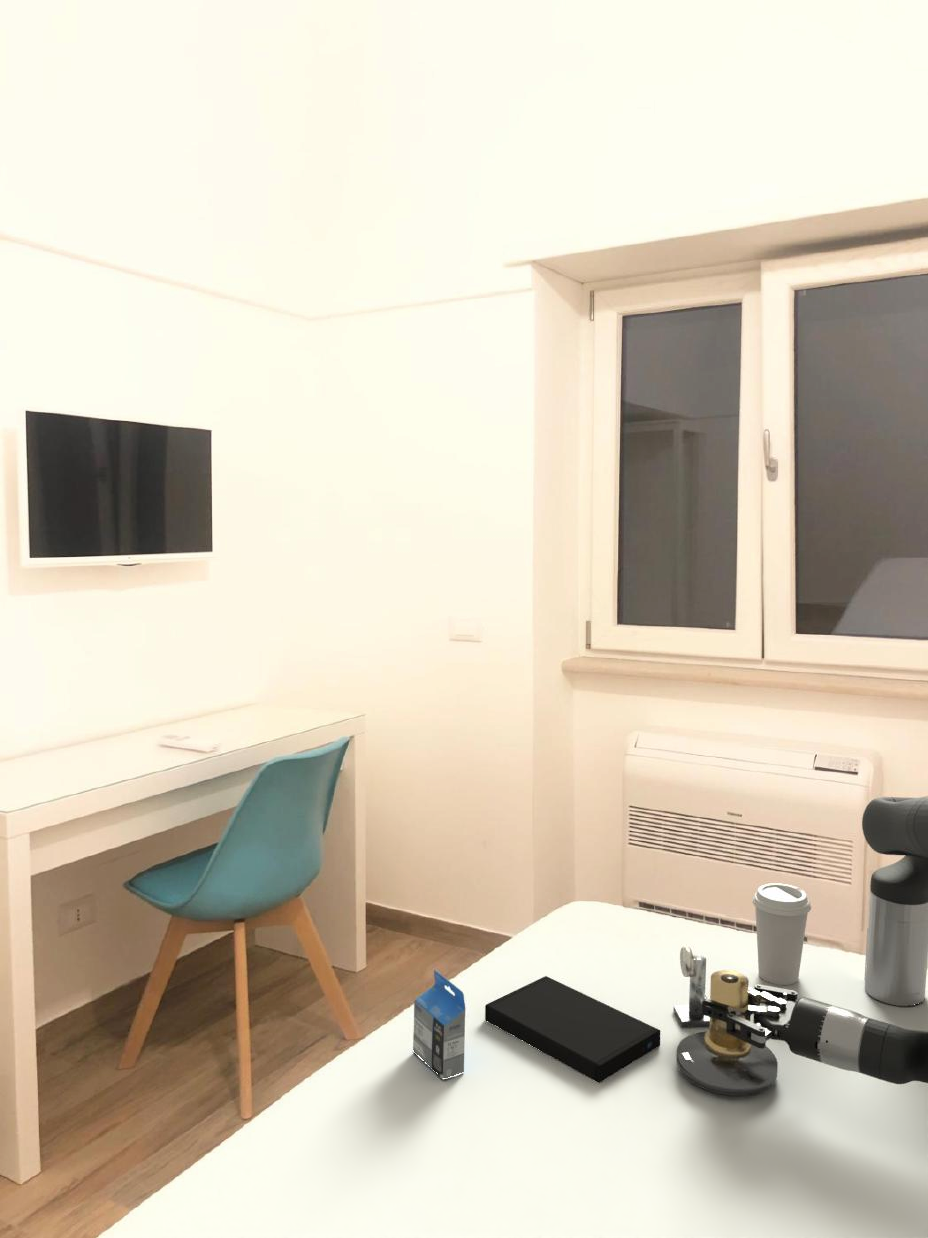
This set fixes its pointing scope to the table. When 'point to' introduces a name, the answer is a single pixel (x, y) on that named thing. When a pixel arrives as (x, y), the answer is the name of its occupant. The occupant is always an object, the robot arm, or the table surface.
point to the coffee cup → (780, 931)
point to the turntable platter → (726, 1068)
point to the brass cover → (717, 1041)
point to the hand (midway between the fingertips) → (711, 998)
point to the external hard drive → (573, 1028)
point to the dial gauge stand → (693, 990)
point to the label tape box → (440, 1027)
